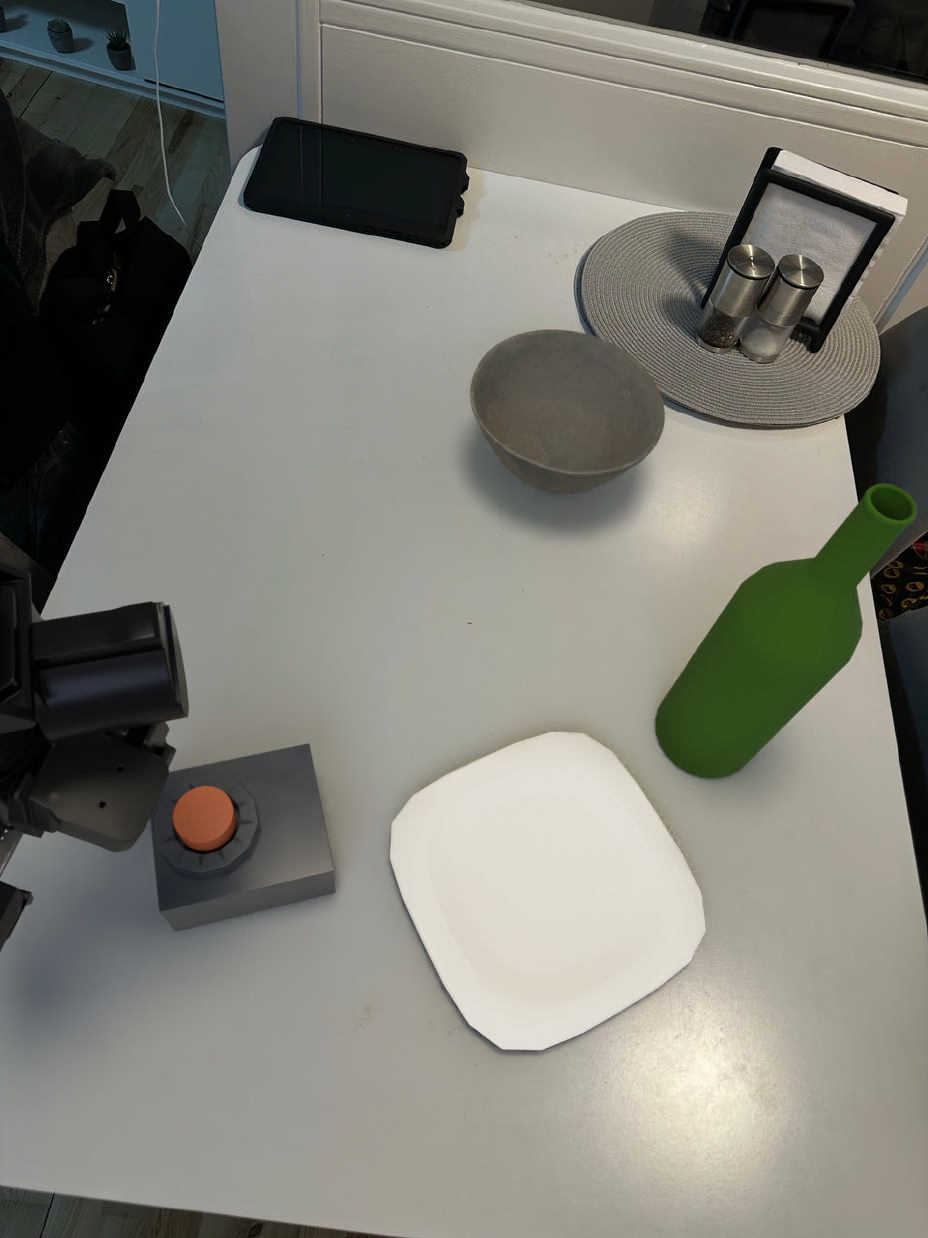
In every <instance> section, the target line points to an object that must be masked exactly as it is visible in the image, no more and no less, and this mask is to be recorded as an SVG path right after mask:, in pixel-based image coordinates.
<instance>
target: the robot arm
mask: <svg viewBox="0 0 928 1238" xmlns="http://www.w3.org/2000/svg"><path fill="white" fill-rule="evenodd" d="M31 576H32V574H31V573H30V572H29V571H28V570H25V569H22V568H20V567H17V566H15V565H12V564H10V563H7V562H6V561H5V562H4V561H3V560H0V878H1V877H2V875H3V874H4V871H6V868H7V866H8V864H9V863H10V861H11V859H12V856H13V855H14V853H15V851H16V849H17V847H18V845H19V843H20V841H21V839H22V837H23V836H24V835H26V836H31V837H34V838H38V839H42V837H43V836H44V833H45V832H47V833H50V834H55V833H57V832H58V833H60V834H64V835H66V836H69V837H72V838H75V839H77V840H81V841H83V842H86V843H88V844H92V845H94V846H97V847H100V848H102V849H104V850H106V851H109V852H113V853H124V852H127V851H129V850H130V849H132V848H133V847H134V846H135V845H136V843H137V842H138V840H139V839H140V838H141V836H142V834H143V833H144V832H145V830H146V828H147V826H148V823H149V821H150V816H151V814H152V812H153V810H154V808H155V805H156V803H157V801H158V799H159V796H160V794H161V792H162V790H163V788H164V785H165V783H166V781H167V779H168V775H169V772H170V769H169V768H170V766H171V765H172V761H173V760H174V757H175V755H176V753H177V749H176V747H174V746H172V745H171V744H169V743H168V742H167V741H166V738H167V737H168V734H169V733H170V727H169V725H168V723H167V722H171V721H176V720H181V719H186V718H187V719H188V718H189V716H190V714H189V713H190V706H189V705H190V703H189V702H190V701H189V692H188V691H189V690H188V685H187V683H188V682H187V678H186V672H185V671H186V670H185V665H184V658H183V653H182V649H181V643H180V638H179V634H178V629H177V625H176V621H175V618H174V614H173V611H172V608H171V605H170V604H165V601H144V602H138V603H132V604H127V605H122V606H119V607H115V608H112V609H106V610H99V611H94V612H87V613H81V614H75V615H68V616H62V617H56V618H50V619H44V618H42V617H41V615H40V613H39V612H38V610H37V609H36V607H35V605H34V603H33V602H32V601H33V600H32V599H33V598H32V577H31ZM34 899H35V897H34V896H33V892H32V891H29V890H26V889H22V888H19V887H17V886H14V885H12V884H10V883H7V882H6V881H5V882H4V881H2V880H0V953H1V951H2V950H3V948H4V946H5V944H6V943H7V941H8V940H9V939H10V937H11V936H12V934H13V932H14V930H15V928H16V926H17V924H18V922H19V920H20V918H21V916H22V914H23V912H24V910H25V908H26V907H27V906H30V905H32V903H33V902H34Z"/></svg>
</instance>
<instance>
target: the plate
mask: <svg viewBox="0 0 928 1238" xmlns="http://www.w3.org/2000/svg"><path fill="white" fill-rule="evenodd" d="M389 847H390V849H389V860H390V861H389V862H390V864H391V868H392V871H393V873H394V876H395V880H396V883H397V885H398V889H399V892H400V894H401V898H402V901H403V903H404V905H405V907H406V909H407V911H408V913H409V916H410V918H411V920H412V922H413V925H414V926H415V929H416V931H417V933H418V935H419V937H420V940H421V942H422V944H423V946H424V948H425V950H426V952H427V954H428V956H429V958H430V960H431V962H432V964H433V966H434V969H435V971H436V973H437V975H438V977H439V979H440V980H441V983H442V984H443V986H444V988H445V989H446V991H447V993H448V994H449V996H450V998H451V999H452V1001H453V1002H454V1004H455V1005H456V1007H457V1009H458V1010H459V1012H460V1013H461V1015H462V1016H463V1018H464V1020H465V1021H466V1022H467V1024H468V1026H470V1027H471V1028H473V1029H474V1030H475V1031H477V1032H478V1033H479V1034H481V1035H482V1036H483V1037H484V1038H486V1039H488V1040H489V1041H490V1042H491V1043H492V1044H494V1045H495V1046H496V1047H498V1048H499V1049H500V1050H509V1051H510V1050H513V1051H514V1050H515V1051H517V1050H518V1051H519V1050H520V1051H544V1050H546V1049H548V1048H551V1047H553V1046H555V1045H558V1044H561V1043H562V1042H564V1041H568V1040H570V1039H572V1038H575V1037H577V1036H580V1035H582V1034H584V1033H586V1032H587V1031H589V1030H591V1029H593V1028H594V1027H596V1026H598V1025H599V1024H601V1023H603V1022H605V1021H606V1020H608V1019H609V1018H611V1017H613V1016H615V1015H618V1013H620V1012H622V1011H624V1010H625V1009H627V1008H629V1007H630V1006H632V1005H633V1004H635V1003H636V1002H638V1001H640V1000H641V999H643V998H644V997H646V996H648V995H649V994H652V993H653V992H654V991H656V990H657V989H659V988H660V987H662V985H664V984H665V983H666V982H668V981H669V980H670V979H672V977H674V976H675V975H676V974H678V972H680V971H681V970H683V968H684V967H686V966H687V965H688V964H689V963H691V961H692V959H693V957H694V955H695V953H696V952H697V949H698V947H699V945H700V943H701V941H702V939H703V937H704V935H705V933H706V931H707V928H706V926H707V925H706V920H705V911H704V903H703V895H702V891H701V889H700V887H699V885H698V883H697V881H696V879H695V877H694V875H693V873H692V871H691V869H690V867H689V865H688V863H687V861H686V858H685V856H684V855H683V853H682V851H681V850H680V847H679V846H678V845H677V843H676V841H675V840H674V838H673V836H672V835H671V833H670V832H669V829H668V828H667V827H666V825H665V823H664V822H663V820H662V819H661V817H660V815H659V814H658V812H657V811H656V809H655V808H654V806H653V805H652V803H651V802H650V799H649V798H648V797H647V796H646V794H645V793H644V791H643V789H642V788H641V786H640V785H639V783H638V782H637V780H636V779H635V778H634V777H633V776H632V774H631V773H630V771H629V770H628V769H627V768H626V767H625V766H624V764H623V763H622V762H621V760H620V759H619V758H618V757H617V755H615V753H614V752H613V751H612V750H611V749H609V748H608V747H607V746H604V745H603V744H601V743H600V742H598V741H596V740H595V739H593V738H592V737H590V736H589V735H587V734H586V733H584V732H568V731H548V732H544V733H542V734H538V735H535V736H532V737H529V738H526V739H522V740H519V741H516V742H514V743H512V744H509V745H507V746H504V747H503V748H501V749H498V750H496V751H494V752H491V753H489V754H487V755H484V756H482V757H479V758H478V759H476V760H473V761H472V762H469V763H467V764H465V765H463V766H461V767H459V768H456V769H455V770H453V771H450V772H448V773H447V774H445V775H443V776H442V777H439V778H438V779H436V780H435V781H433V782H431V783H429V784H428V785H427V786H426V787H424V788H422V789H421V790H419V791H418V792H416V793H414V794H413V795H411V797H410V798H409V799H408V801H407V802H406V803H405V805H404V806H403V808H402V809H401V810H400V811H399V813H398V814H397V815H396V817H395V818H394V820H393V821H392V822H391V830H390V846H389Z"/></svg>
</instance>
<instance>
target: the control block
mask: <svg viewBox="0 0 928 1238" xmlns="http://www.w3.org/2000/svg"><path fill="white" fill-rule="evenodd" d="M201 786H212V787H216V788H219V789H220V790H222V791H224V792H225V793H226V794H227V795H228V796H229V798H230V800H231V802H232V805H233V807H234V810H235V813H236V819H237V822H236V828H235V831H234V833H233V835H232V836H231V838H230V839H229V840H228V841H227V842H226V843H225V844H224V845H222V846H221V847H219V848H217V849H214V850H210V851H198V850H194V849H192V848H190V847H188V846H187V845H186V844H185V843H184V842H183V841H182V839H181V838H180V836H179V834H178V832H177V831H176V829H175V826H174V823H173V812H174V809H175V806H176V804H177V802H178V801H179V799H180V798H181V797H182V796H183V795H184V794H185V793H187V792H188V791H190V790H192V789H194V788H197V787H201ZM149 821H150V831H151V841H152V842H151V843H152V852H153V862H154V872H155V873H154V874H155V880H156V881H155V882H156V884H155V885H156V892H157V894H156V895H157V903H158V912H159V914H160V915H161V916H162V918H164V920H165V921H166V922H167V923H168V925H169V926H170V927H171V928H172V930H173V931H174V932H175V933H176V932H180V931H184V930H188V929H193V928H197V927H201V926H204V925H208V924H209V925H210V924H214V923H217V922H221V921H222V922H223V921H225V920H230V919H233V918H236V917H237V918H238V917H242V916H246V915H249V914H250V915H251V914H254V913H257V912H262V911H266V910H270V909H274V908H278V907H283V906H286V905H291V904H295V903H298V902H302V901H308V900H310V899H314V898H315V899H316V898H319V897H322V896H328V895H331V894H332V895H333V894H336V893H337V887H336V886H337V885H336V884H337V883H336V874H335V873H336V872H335V866H334V860H333V857H332V851H331V845H330V841H329V838H328V831H327V826H326V821H325V816H324V810H323V806H322V799H321V796H320V790H319V785H318V781H317V775H316V770H315V766H314V760H313V755H312V749H311V744H310V743H304V744H299V745H294V746H288V747H284V748H280V749H279V748H278V749H275V750H269V751H265V752H260V753H254V754H250V755H246V756H240V757H235V758H231V759H226V760H221V761H217V762H211V763H207V764H202V765H196V766H193V767H192V766H191V767H187V768H182V769H178V770H173V771H169V775H168V779H167V781H166V783H165V785H164V788H163V790H162V792H161V794H160V796H159V799H158V801H157V803H156V805H155V808H154V810H153V812H152V814H151V816H150V819H149Z"/></svg>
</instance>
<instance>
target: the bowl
mask: <svg viewBox="0 0 928 1238" xmlns="http://www.w3.org/2000/svg"><path fill="white" fill-rule="evenodd" d="M657 384H658V383H657V382H656V381H655V379H654V377H653V376H652V375H651V373H650V372H649V371H648V370H647V369H646V367H645V366H644V365H643V364H642V363H641V362H640V361H639V360H638V359H637V358H635V357H634V356H633V355H631V354H630V353H628V352H627V351H626V350H624V349H622V348H621V347H619V346H618V345H616V344H614V343H611V342H609V341H607V340H605V339H603V338H601V337H598V336H596V335H591V334H588V333H584V332H579V331H573V330H567V329H552V328H551V329H537V330H531V331H525V332H522V333H518V334H516V335H512V336H510V337H508V338H505V339H504V340H502V341H500V342H498V343H497V344H495V345H494V346H493V347H492V348H490V349H489V350H488V351H487V352H486V353H485V354H484V355H483V357H482V358H481V359H480V361H479V362H478V364H477V365H476V368H475V370H474V373H473V375H472V378H471V382H470V388H469V399H470V407H471V411H472V413H473V415H474V418H475V420H476V422H477V424H478V426H479V428H480V431H481V432H482V433H483V435H484V437H485V439H486V441H487V443H488V445H489V447H490V448H491V451H493V453H494V455H495V456H496V457H497V459H498V460H500V462H501V463H502V464H503V465H504V466H505V467H506V469H508V470H509V472H511V473H512V474H513V475H514V476H515V477H517V478H518V479H519V480H520V481H522V482H523V483H524V484H526V485H528V486H530V487H531V488H534V489H536V490H540V491H543V492H547V493H553V494H559V495H571V494H578V493H583V492H587V491H590V490H593V489H595V488H599V487H600V486H603V485H605V484H606V483H609V482H611V481H612V480H614V479H616V478H618V477H620V476H621V475H623V474H624V473H626V472H627V471H629V470H630V469H632V468H633V467H636V466H637V465H639V464H640V463H641V462H643V461H644V460H645V459H646V458H647V457H648V456H649V455H650V454H651V452H652V451H653V450H654V449H655V447H656V446H657V444H658V443H659V441H660V439H661V436H662V434H663V431H664V427H665V423H666V413H665V412H666V411H665V406H664V400H663V397H662V394H661V391H660V389H659V386H658V385H657Z"/></svg>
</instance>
